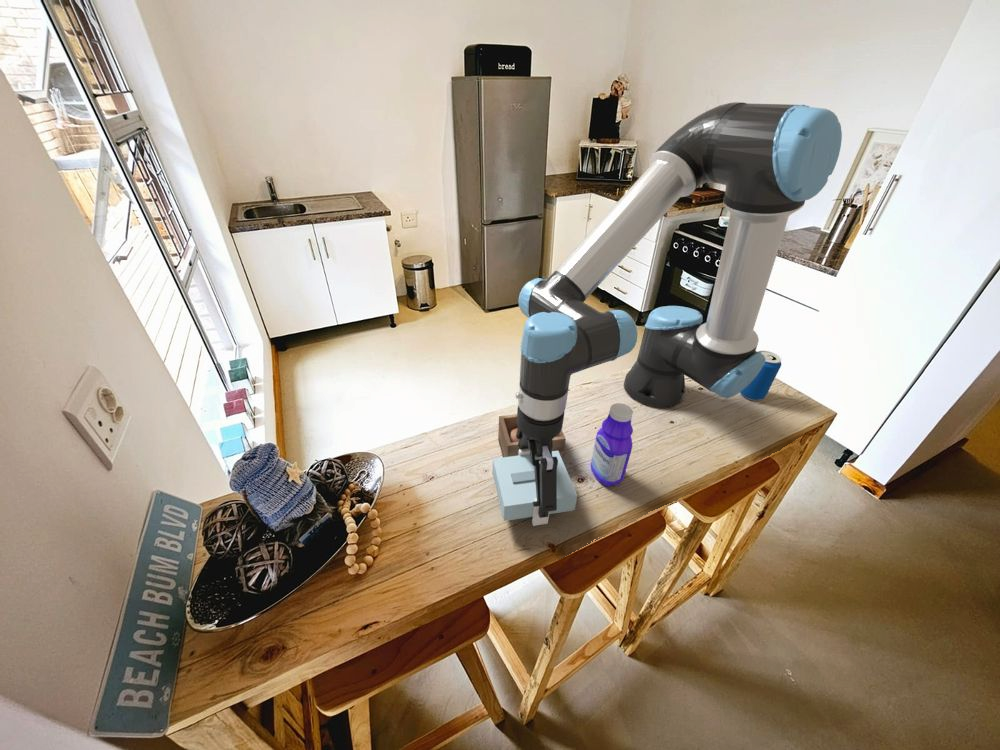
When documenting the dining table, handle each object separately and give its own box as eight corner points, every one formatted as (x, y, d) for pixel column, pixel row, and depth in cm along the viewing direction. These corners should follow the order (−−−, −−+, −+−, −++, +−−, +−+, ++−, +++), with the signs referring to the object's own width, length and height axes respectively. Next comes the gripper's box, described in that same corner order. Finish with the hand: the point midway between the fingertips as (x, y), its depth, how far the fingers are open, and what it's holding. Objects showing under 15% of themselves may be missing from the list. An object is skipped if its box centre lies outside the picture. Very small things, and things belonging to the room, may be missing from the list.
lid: (556, 464, 83) (558, 449, 80) (574, 510, 74) (577, 494, 72) (492, 473, 81) (492, 457, 78) (503, 521, 72) (504, 504, 69)
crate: (549, 433, 95) (552, 410, 91) (561, 462, 88) (565, 438, 84) (498, 439, 93) (499, 416, 89) (506, 470, 86) (507, 445, 82)
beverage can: (769, 402, 107) (789, 364, 100) (744, 402, 106) (762, 363, 100) (756, 387, 112) (774, 350, 105) (732, 387, 112) (749, 349, 105)
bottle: (584, 466, 87) (597, 401, 77) (606, 458, 89) (622, 394, 79) (604, 492, 82) (621, 426, 72) (627, 483, 84) (647, 418, 74)
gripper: (503, 368, 75) (500, 454, 87) (538, 464, 56) (527, 556, 68) (543, 364, 76) (534, 450, 88) (590, 458, 57) (570, 549, 70)
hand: (531, 496), depth 78 cm, fingers closed on lid, 11 cm apart
